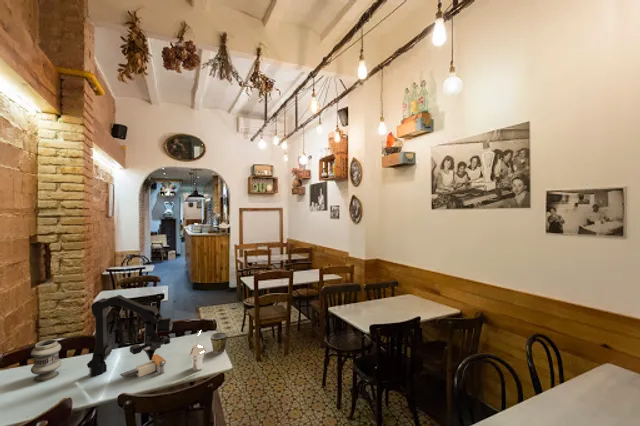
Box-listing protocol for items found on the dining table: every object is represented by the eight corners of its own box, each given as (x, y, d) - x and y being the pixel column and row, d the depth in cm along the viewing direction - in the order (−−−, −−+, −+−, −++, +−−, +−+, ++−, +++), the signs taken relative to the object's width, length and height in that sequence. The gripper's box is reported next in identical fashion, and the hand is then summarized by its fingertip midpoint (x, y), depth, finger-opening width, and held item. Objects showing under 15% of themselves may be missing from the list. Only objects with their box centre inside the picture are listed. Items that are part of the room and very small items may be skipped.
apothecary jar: (24, 384, 151) (24, 348, 151) (39, 372, 163) (39, 338, 163) (53, 381, 154) (53, 345, 154) (66, 369, 166) (66, 336, 166)
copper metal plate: (158, 367, 158) (158, 364, 158) (149, 359, 167) (149, 355, 167) (167, 364, 161) (167, 361, 161) (157, 356, 170) (157, 353, 170)
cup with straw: (185, 372, 163) (185, 335, 163) (198, 364, 172) (198, 329, 172) (197, 375, 160) (197, 337, 160) (210, 367, 168) (210, 331, 168)
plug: (128, 381, 153) (128, 373, 153) (125, 378, 155) (125, 370, 155) (155, 370, 163) (155, 363, 163) (152, 368, 165) (152, 360, 165)
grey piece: (133, 388, 148) (133, 378, 148) (119, 376, 159) (119, 366, 159) (166, 374, 161) (166, 365, 161) (151, 364, 172) (151, 355, 172)
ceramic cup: (209, 349, 190) (209, 333, 190) (226, 346, 194) (226, 331, 194) (211, 358, 178) (211, 341, 178) (229, 355, 182) (229, 338, 182)
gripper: (137, 341, 152) (137, 372, 152) (175, 330, 167) (174, 358, 167) (129, 335, 159) (128, 365, 159) (165, 325, 174) (165, 352, 174)
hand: (150, 360), depth 165 cm, fingers closed
